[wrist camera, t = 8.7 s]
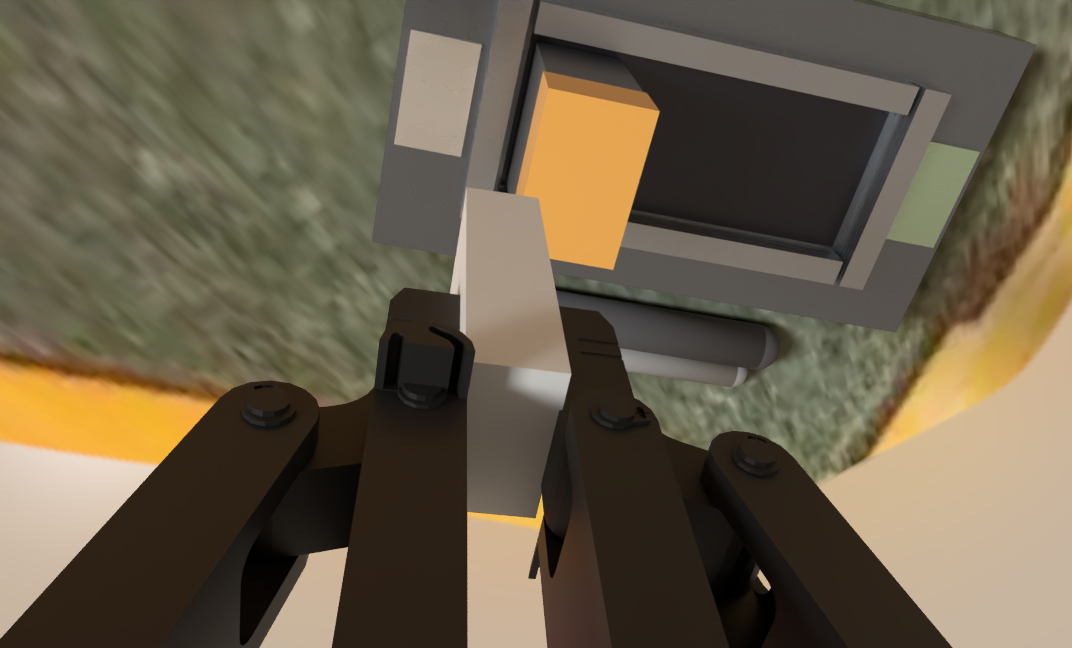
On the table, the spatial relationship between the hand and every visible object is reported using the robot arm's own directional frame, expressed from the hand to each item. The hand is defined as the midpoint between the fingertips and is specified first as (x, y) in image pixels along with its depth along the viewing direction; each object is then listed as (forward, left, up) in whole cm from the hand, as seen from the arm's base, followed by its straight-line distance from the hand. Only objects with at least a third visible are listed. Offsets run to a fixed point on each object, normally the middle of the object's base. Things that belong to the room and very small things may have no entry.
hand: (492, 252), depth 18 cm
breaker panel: (+8, 0, -16) cm, 18 cm away
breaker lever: (+3, 0, -13) cm, 14 cm away
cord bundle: (+8, -9, -16) cm, 20 cm away
